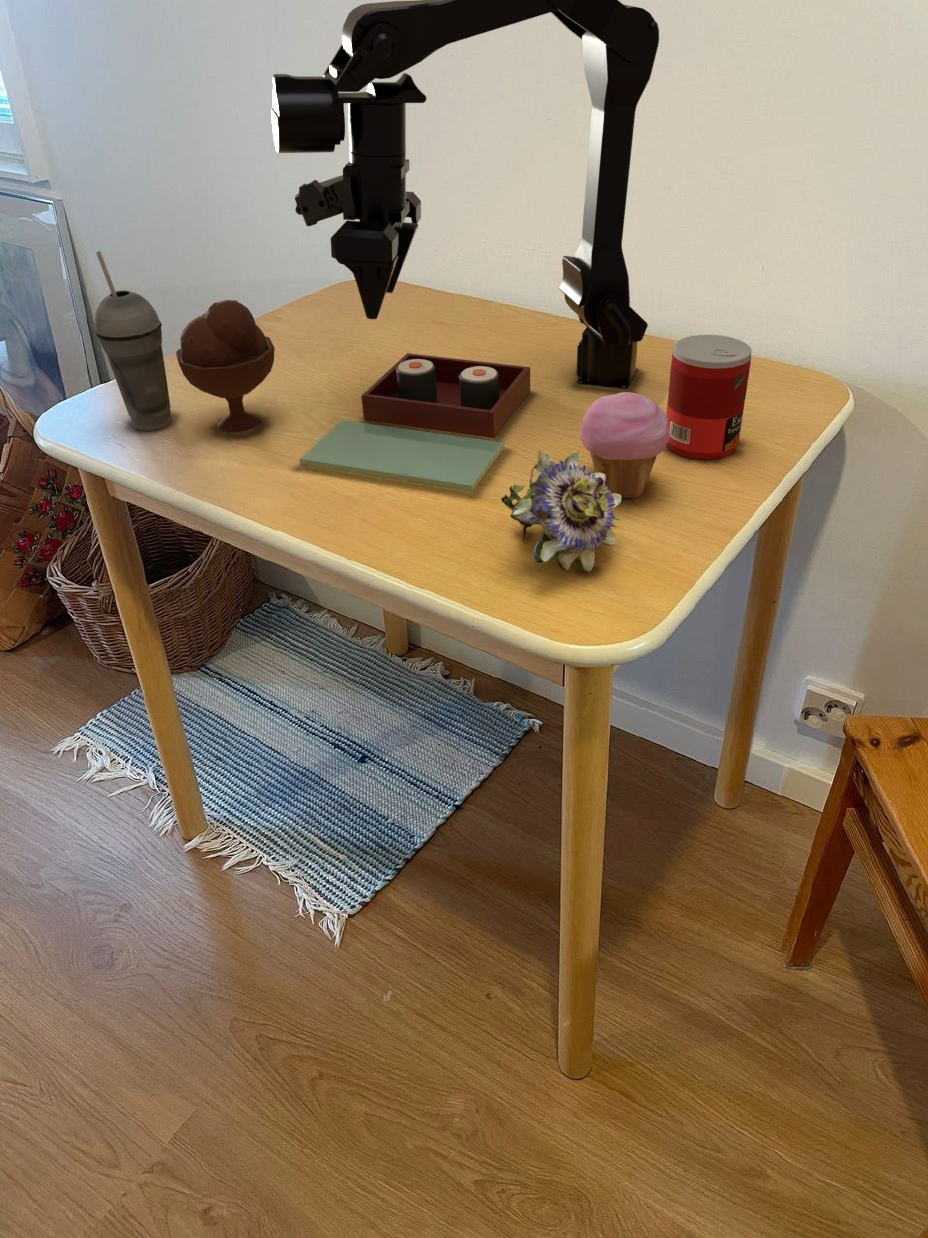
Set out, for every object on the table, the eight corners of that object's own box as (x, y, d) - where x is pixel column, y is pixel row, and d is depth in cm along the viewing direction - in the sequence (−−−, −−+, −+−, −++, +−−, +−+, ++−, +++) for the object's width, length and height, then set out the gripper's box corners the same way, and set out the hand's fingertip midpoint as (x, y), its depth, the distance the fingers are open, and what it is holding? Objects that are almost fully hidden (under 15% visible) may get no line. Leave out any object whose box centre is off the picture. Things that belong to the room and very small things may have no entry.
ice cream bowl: (276, 400, 119) (256, 278, 110) (293, 438, 110) (272, 309, 101) (190, 415, 116) (161, 291, 107) (199, 455, 108) (169, 324, 99)
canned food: (738, 463, 102) (753, 363, 95) (662, 458, 103) (671, 360, 96) (737, 430, 107) (751, 335, 101) (664, 426, 109) (673, 332, 102)
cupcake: (658, 514, 94) (667, 420, 88) (570, 505, 96) (574, 412, 90) (668, 471, 101) (677, 381, 95) (586, 464, 103) (590, 375, 97)
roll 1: (442, 395, 117) (440, 358, 114) (428, 410, 113) (425, 373, 110) (408, 390, 118) (405, 354, 115) (392, 406, 115) (389, 369, 112)
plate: (504, 452, 105) (504, 442, 105) (472, 496, 98) (472, 485, 97) (342, 429, 112) (341, 419, 111) (300, 468, 104) (299, 458, 104)
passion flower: (582, 614, 90) (560, 570, 79) (491, 560, 95) (458, 510, 84) (648, 518, 92) (635, 461, 81) (555, 469, 96) (531, 408, 85)
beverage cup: (174, 435, 112) (132, 260, 100) (113, 436, 112) (64, 262, 100) (189, 408, 118) (151, 240, 106) (131, 410, 118) (86, 242, 106)
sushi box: (530, 394, 117) (530, 366, 115) (494, 442, 107) (493, 412, 105) (409, 380, 122) (407, 352, 120) (364, 424, 112) (361, 395, 110)
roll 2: (504, 403, 114) (504, 366, 111) (491, 419, 111) (491, 381, 108) (468, 398, 116) (467, 361, 113) (454, 414, 112) (453, 377, 109)
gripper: (322, 130, 106) (329, 275, 115) (274, 164, 91) (286, 327, 100) (422, 137, 105) (421, 281, 114) (390, 172, 90) (392, 335, 99)
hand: (380, 304), depth 107 cm, fingers open, 9 cm apart
